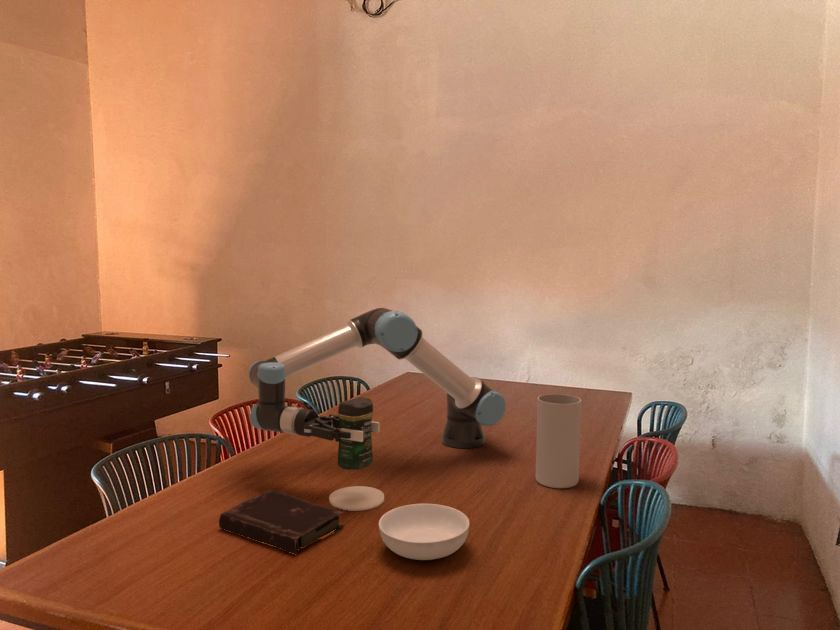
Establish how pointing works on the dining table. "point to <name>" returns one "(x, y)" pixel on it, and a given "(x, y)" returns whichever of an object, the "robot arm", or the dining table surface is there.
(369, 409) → the coffee jar
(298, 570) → the dining table surface
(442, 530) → the serving bowl
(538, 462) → the cylinder vase
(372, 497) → the ceramic trivet
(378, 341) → the robot arm
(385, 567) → the dining table surface
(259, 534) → the diary
